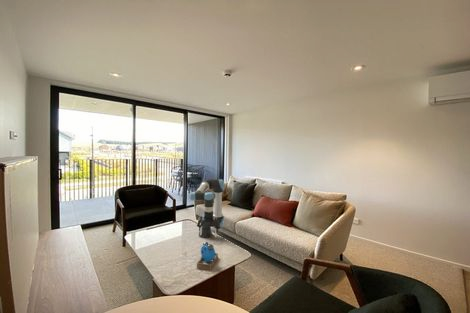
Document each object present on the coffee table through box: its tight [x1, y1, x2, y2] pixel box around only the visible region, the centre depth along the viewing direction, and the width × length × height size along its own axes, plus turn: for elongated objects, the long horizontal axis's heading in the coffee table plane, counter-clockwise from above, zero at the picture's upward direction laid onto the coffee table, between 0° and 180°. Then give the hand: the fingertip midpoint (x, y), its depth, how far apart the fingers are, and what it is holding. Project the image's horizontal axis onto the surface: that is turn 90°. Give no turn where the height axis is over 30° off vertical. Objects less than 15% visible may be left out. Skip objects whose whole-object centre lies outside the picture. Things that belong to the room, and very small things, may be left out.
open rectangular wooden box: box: [196, 252, 219, 271], centre depth 168 cm, size 19×12×4 cm, turn 168°
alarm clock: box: [200, 241, 216, 262], centre depth 168 cm, size 13×6×15 cm, turn 45°
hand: (208, 235), depth 168 cm, fingers open, 13 cm apart
